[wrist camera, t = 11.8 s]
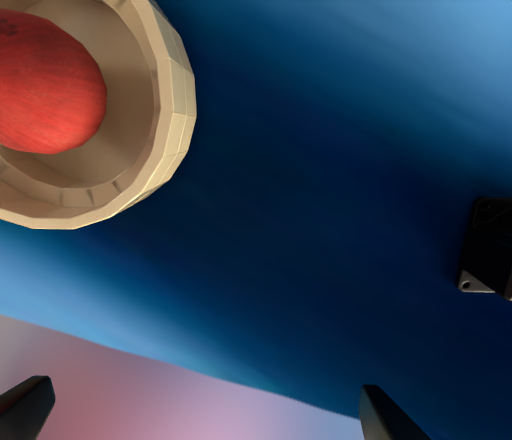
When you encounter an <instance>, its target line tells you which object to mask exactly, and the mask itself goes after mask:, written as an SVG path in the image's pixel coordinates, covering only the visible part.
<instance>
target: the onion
mask: <svg viewBox="0 0 512 440" xmlns="http://www.w3.org/2000/svg"><path fill="white" fill-rule="evenodd" d="M106 102H107V87H106V85H105V82H104V79H103V76H102V73H101V71H100V68H99V65H98V64H97V62H96V61H95V60H94V58H93V57H92V56H91V54H90V53H89V52H88V51H87V49H86V48H85V47H84V45H83V44H82V43H80V42H79V41H78V40H76V39H75V38H74V37H72V36H71V35H70V34H68V33H67V32H65V31H64V30H63V29H61V28H60V27H58V26H57V25H55V24H54V23H53V22H51V21H50V20H48V19H45V18H42V17H39V16H36V15H33V14H28V13H24V12H19V11H15V10H10V9H0V143H1V144H3V145H4V146H6V147H8V148H11V149H14V150H17V151H24V152H34V153H43V154H56V153H59V152H63V151H66V150H70V149H73V148H76V147H80V146H82V145H83V144H85V143H86V142H87V141H88V140H89V139H90V138H91V137H92V136H93V135H94V134H96V133H97V131H98V129H99V127H100V124H101V122H102V120H103V118H104V116H105V114H106Z"/></svg>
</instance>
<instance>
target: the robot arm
mask: <svg viewBox="0 0 512 440" xmlns="http://www.w3.org/2000/svg"><path fill="white" fill-rule="evenodd" d="M484 202H485V205H484V207H483V208H481V205H482V204H483V203H484ZM458 265H459V267H458V271H457V275H456V280H455V286H456V287H457V288H458V289H460V290H461V291H463V292H495V293H497V294H498V295H499V296H501V297H502V298H504V299H505V300H508V301H511V302H512V197H479V198H477V199H476V200H475V201H474V202H473V205H472V209H471V214H470V218H469V223H468V227H467V231H466V233H465V237H464V242H463V246H462V250H461V255H460V259H459V264H458ZM464 282H466V284H465V285H463V283H464ZM54 403H55V393H54V390H53V386H52V382H51V379H50V377H48V376H37V375H36V376H32V377H30V378H29V379H27V380H25V381H23V382H22V383H20V384H18V385H17V386H15V387H13V388H12V389H10V390H8V391H7V392H5V393H3V394H2V395H0V440H36V439H37V437H38V435H39V433H40V431H41V429H42V428H43V426H44V424H45V422H46V419H47V418H48V416H49V414H50V412H51V410H52V408H53V406H54ZM359 416H360V421H361V425H362V430H363V434H364V438H365V440H431V439H430V438H429V437H428V436H427V435H426V434H425V433H424V432H423V431H422V430H421V429H420V428H419V427H418V426H417V425H416V424H415V422H414V421H413V420H412V419H411V418H410V417H409V416H408V415H407V414H406V413H405V412H404V411H403V410H402V409H401V408H400V407H399V406H398V405H397V404H396V403H395V402H394V401H393V400H392V399H391V398H390V397H389V396H388V395H387V394H386V393H385V392H384V391H383V390H382V389H381V388H380V387H379V386H377V385H367V384H364V385H362V387H361V393H360V400H359Z"/></svg>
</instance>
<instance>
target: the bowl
mask: <svg viewBox="0 0 512 440" xmlns="http://www.w3.org/2000/svg"><path fill="white" fill-rule="evenodd" d="M0 9H10V10H15V11H19V12H24V13H28V14H33V15H36V16H39V17H42V18H45V19H48V20H50V21H51V22H53V23H54V24H55V25H57V26H58V27H60V28H61V29H63V30H64V31H65V32H67V33H68V34H70V35H71V36H72V37H74V38H75V39H76V40H78V41H79V42H80V43H82V44H83V45H84V47H85V48H86V49H87V51H88V52H89V53H90V54H91V56H92V57H93V58H94V60H95V61H96V62H97V64H98V65H99V68H100V71H101V73H102V76H103V79H104V82H105V85H106V87H107V102H106V114H105V116H104V118H103V120H102V122H101V124H100V127H99V129H98V131H97V133H96V134H94V135H93V136H92V137H91V138H90V139H89V140H88V141H87V142H86V143H85V144H83V145H82V146H80V147H76V148H73V149H70V150H66V151H63V152H59V153H56V154H43V153H34V152H24V151H17V150H14V149H11V148H8V147H6V146H4V145H3V144H1V143H0V219H3V220H6V221H9V222H12V223H16V224H19V225H22V226H25V227H29V228H34V229H76V228H79V227H82V226H86V225H89V224H92V223H95V222H98V221H101V220H104V219H107V218H110V217H112V216H114V215H116V214H118V213H119V212H121V211H123V210H125V209H126V208H128V207H130V206H132V205H134V204H135V203H137V202H139V201H141V200H143V199H144V198H146V197H147V196H149V195H150V194H151V193H153V192H154V191H155V190H157V189H158V188H159V187H160V186H162V185H163V184H164V183H166V182H167V181H168V180H169V179H170V178H171V177H172V175H173V174H174V172H175V170H176V169H177V167H178V166H179V164H180V163H181V161H182V159H183V158H184V156H185V155H186V153H187V151H188V148H189V144H190V140H191V136H192V132H193V128H194V124H195V120H196V97H195V79H194V74H193V71H192V69H191V66H190V63H189V60H188V57H187V54H186V51H185V48H184V46H183V43H182V40H181V37H180V35H179V34H178V32H177V31H176V30H175V28H174V27H173V25H172V24H171V22H170V21H169V19H168V18H167V17H166V15H165V14H164V12H163V11H162V9H161V8H160V7H159V5H158V4H157V2H156V1H155V0H0Z"/></svg>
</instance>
